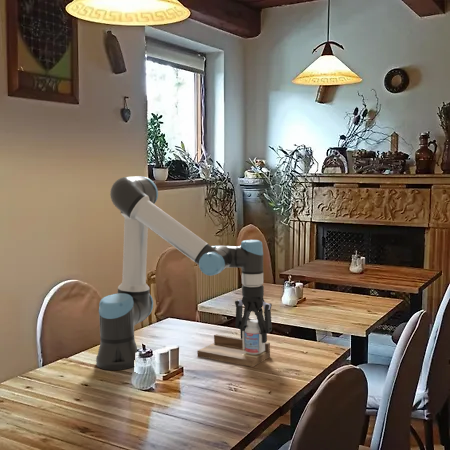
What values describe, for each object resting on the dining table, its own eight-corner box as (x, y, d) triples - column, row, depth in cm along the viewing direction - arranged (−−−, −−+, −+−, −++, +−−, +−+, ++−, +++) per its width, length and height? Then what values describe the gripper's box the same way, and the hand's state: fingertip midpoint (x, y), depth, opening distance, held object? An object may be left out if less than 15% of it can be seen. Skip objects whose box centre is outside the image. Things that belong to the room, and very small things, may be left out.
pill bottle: (242, 353, 205) (241, 322, 204) (249, 348, 210) (249, 318, 209) (258, 356, 202) (257, 323, 201) (265, 351, 208) (264, 319, 207)
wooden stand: (252, 366, 199) (252, 352, 198) (197, 356, 211) (197, 342, 211) (270, 356, 209) (269, 343, 208) (216, 347, 221) (216, 334, 221)
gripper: (282, 285, 202) (283, 351, 204) (235, 280, 212) (236, 343, 215) (271, 289, 196) (272, 357, 198) (223, 284, 206) (225, 348, 208)
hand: (253, 349), depth 206 cm, fingers closed on pill bottle, 6 cm apart
